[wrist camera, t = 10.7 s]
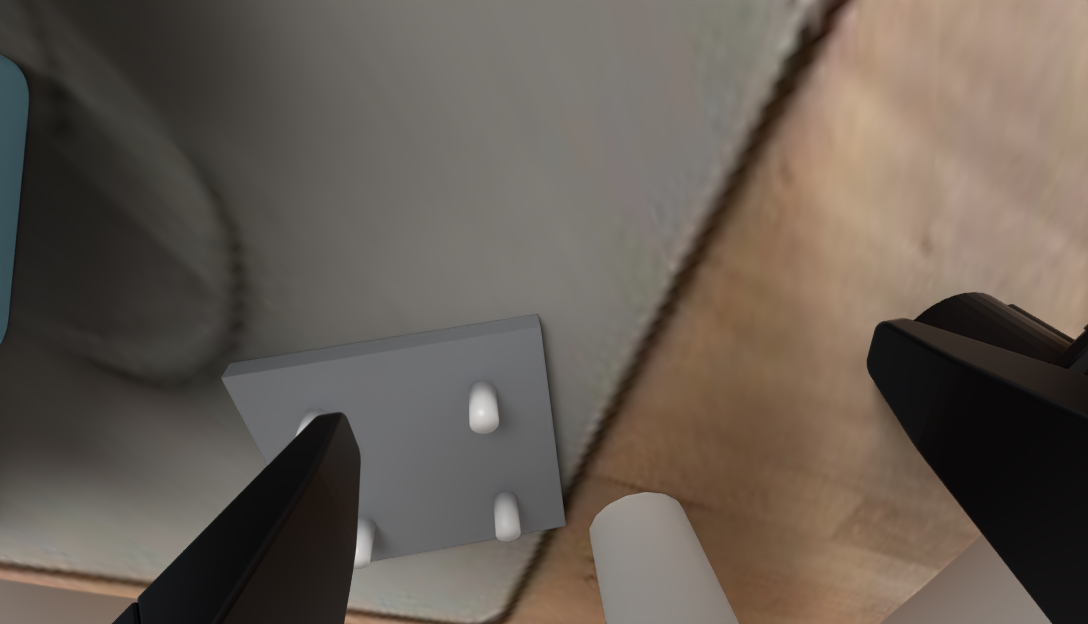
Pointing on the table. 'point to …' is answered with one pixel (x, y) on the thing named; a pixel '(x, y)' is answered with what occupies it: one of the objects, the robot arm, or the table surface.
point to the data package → (10, 172)
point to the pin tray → (424, 430)
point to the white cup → (654, 565)
